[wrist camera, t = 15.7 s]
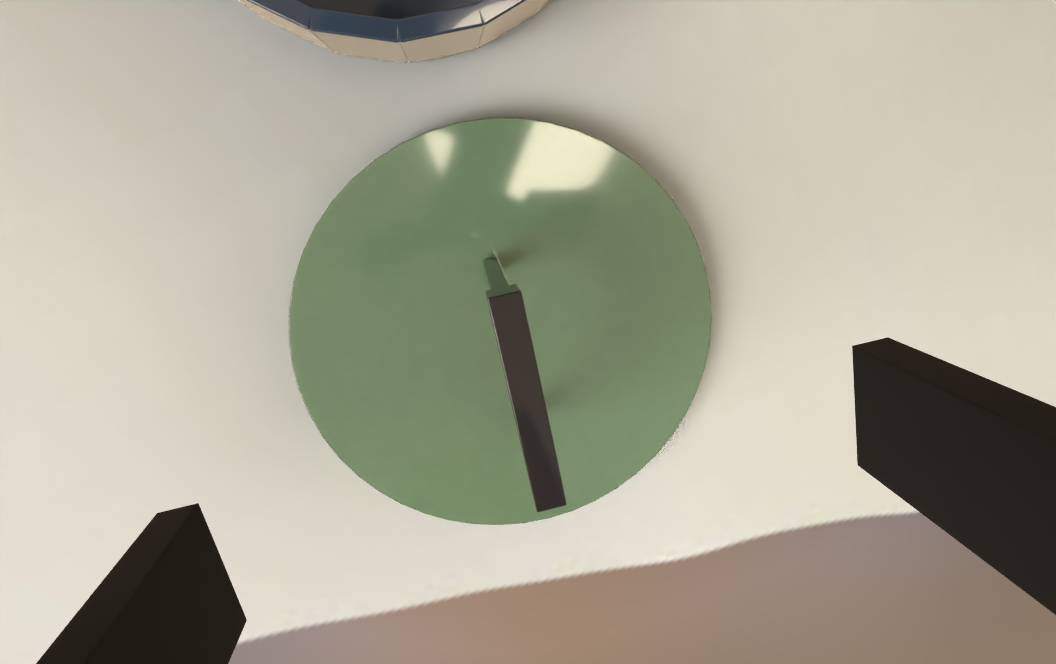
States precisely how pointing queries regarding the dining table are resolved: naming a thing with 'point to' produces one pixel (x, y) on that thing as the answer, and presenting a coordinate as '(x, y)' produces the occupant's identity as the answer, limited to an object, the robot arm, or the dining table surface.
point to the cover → (499, 321)
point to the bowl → (397, 24)
